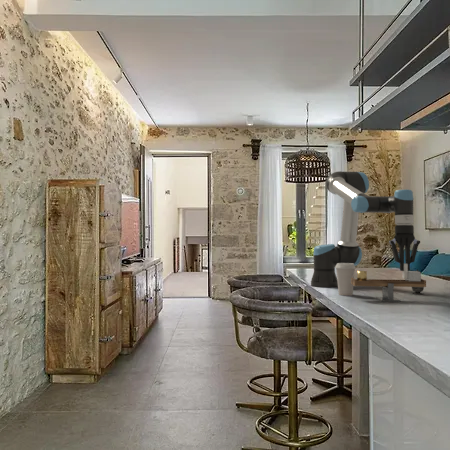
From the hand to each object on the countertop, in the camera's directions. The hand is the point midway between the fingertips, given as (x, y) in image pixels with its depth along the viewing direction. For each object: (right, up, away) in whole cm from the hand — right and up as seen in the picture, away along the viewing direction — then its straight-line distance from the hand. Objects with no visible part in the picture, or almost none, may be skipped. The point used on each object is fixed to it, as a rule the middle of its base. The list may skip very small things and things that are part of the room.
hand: (405, 278), depth 180 cm
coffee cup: (-21, -10, +18) cm, 29 cm away
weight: (-18, -2, +2) cm, 18 cm away
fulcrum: (-7, -10, 0) cm, 12 cm away
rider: (+3, -2, 0) cm, 4 cm away
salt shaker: (+14, -10, +19) cm, 26 cm away
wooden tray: (-7, -3, +1) cm, 8 cm away
